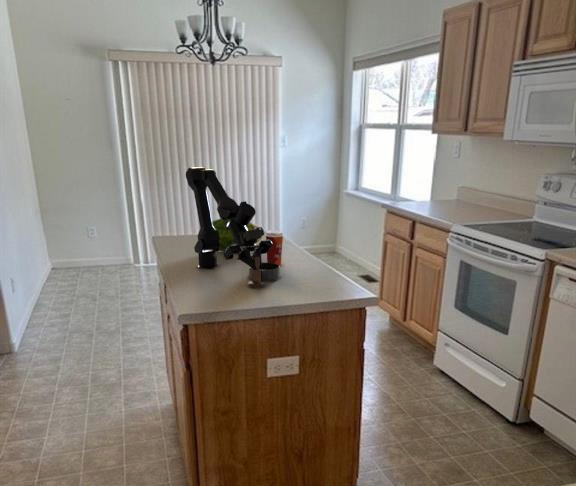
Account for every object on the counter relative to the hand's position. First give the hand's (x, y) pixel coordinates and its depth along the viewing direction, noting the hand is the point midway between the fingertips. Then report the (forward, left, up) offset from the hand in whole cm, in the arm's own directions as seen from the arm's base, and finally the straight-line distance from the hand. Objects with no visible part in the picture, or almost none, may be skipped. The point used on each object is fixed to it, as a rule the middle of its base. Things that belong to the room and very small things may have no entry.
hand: (258, 269), depth 191 cm
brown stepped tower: (-1, +1, -7) cm, 7 cm away
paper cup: (-4, +32, -7) cm, 33 cm away
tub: (-2, +13, -7) cm, 15 cm away
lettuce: (-29, +51, -7) cm, 59 cm away
